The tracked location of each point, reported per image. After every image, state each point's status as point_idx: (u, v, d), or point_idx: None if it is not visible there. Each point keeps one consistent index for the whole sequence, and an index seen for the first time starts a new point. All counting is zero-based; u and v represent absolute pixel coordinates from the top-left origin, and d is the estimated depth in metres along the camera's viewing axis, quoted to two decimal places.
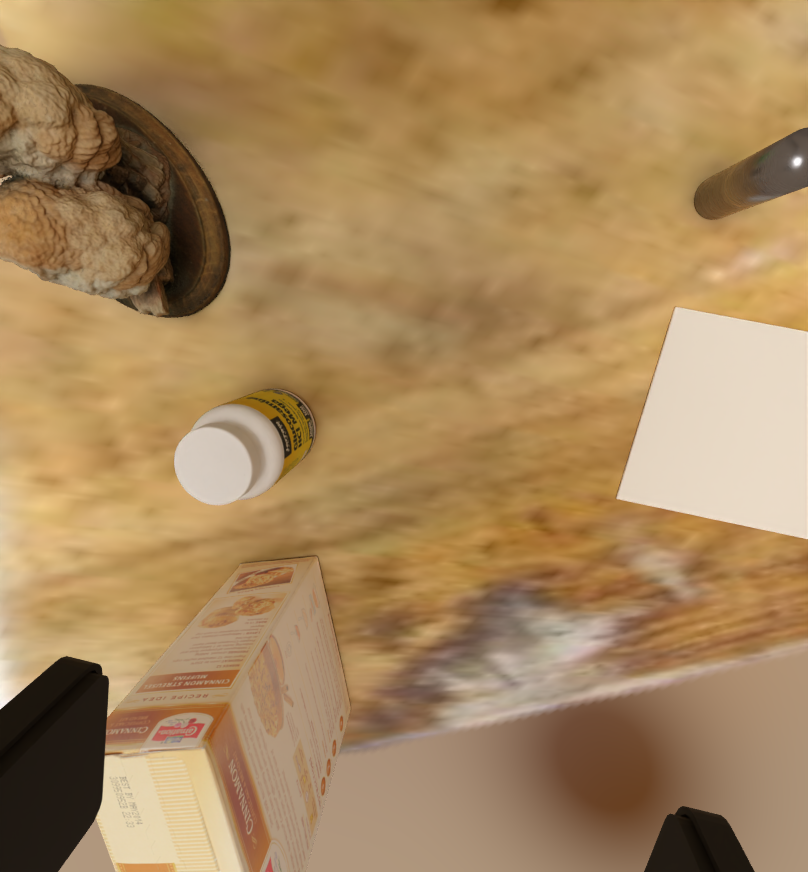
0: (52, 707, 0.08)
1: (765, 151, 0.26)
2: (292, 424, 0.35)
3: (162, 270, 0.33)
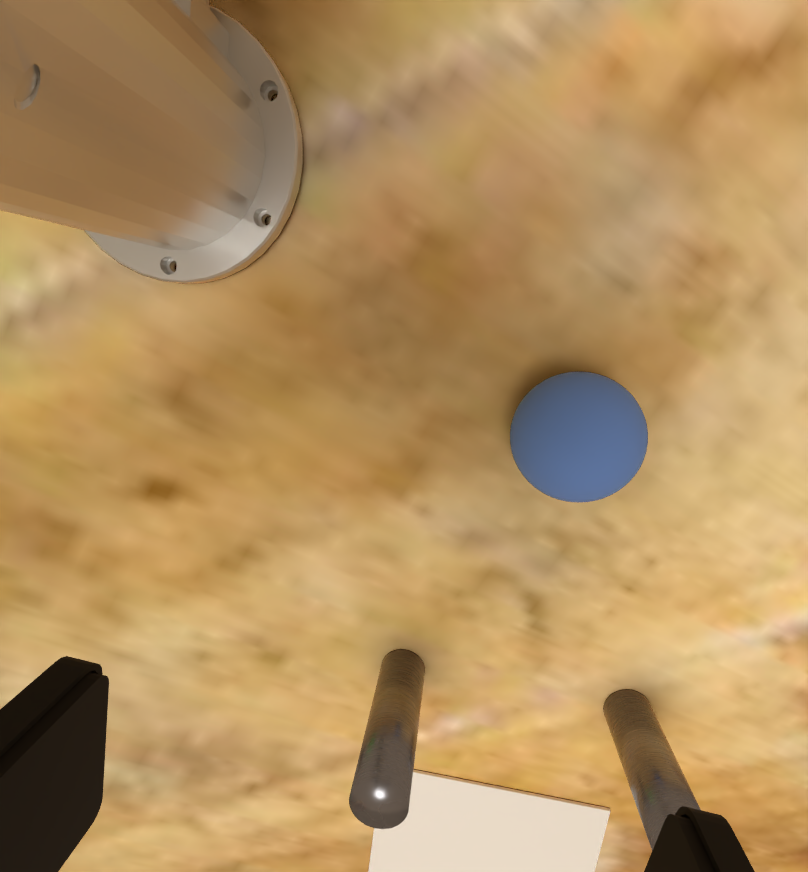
0: (53, 707, 0.08)
1: (359, 760, 0.24)
2: None
3: None
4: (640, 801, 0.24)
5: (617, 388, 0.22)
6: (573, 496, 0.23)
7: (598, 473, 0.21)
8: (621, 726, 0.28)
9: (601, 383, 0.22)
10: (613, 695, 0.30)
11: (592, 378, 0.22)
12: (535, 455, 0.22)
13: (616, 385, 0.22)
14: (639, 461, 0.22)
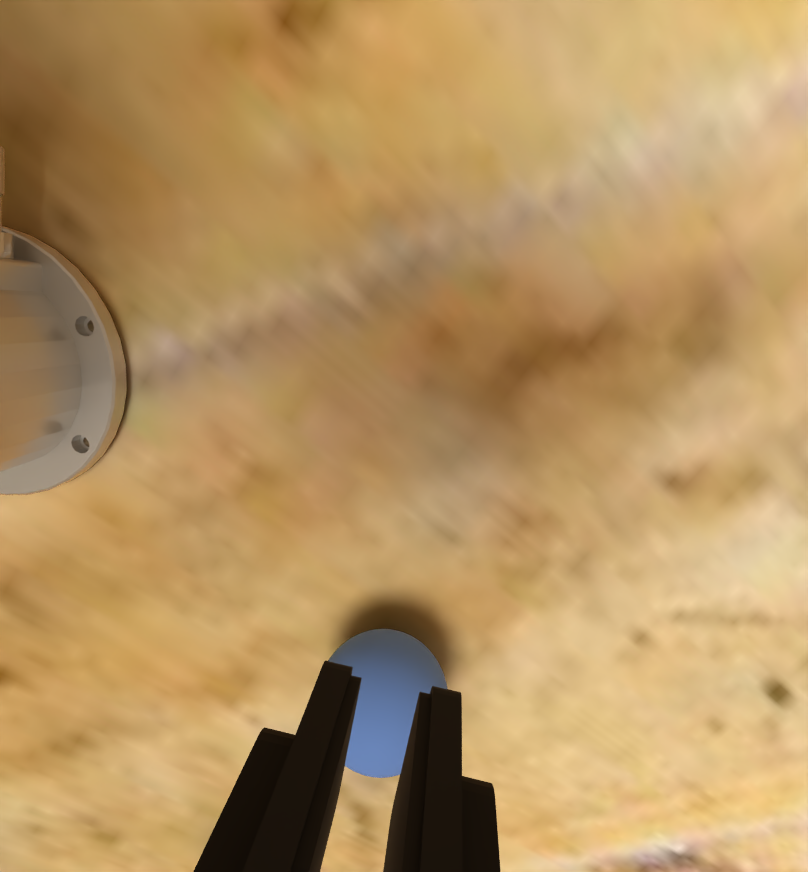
0: (335, 706, 0.09)
1: None
2: None
3: None
4: None
5: (412, 674, 0.22)
6: (365, 774, 0.22)
7: (380, 768, 0.21)
8: None
9: (396, 668, 0.22)
10: None
11: (390, 660, 0.22)
12: None
13: (413, 668, 0.22)
14: None
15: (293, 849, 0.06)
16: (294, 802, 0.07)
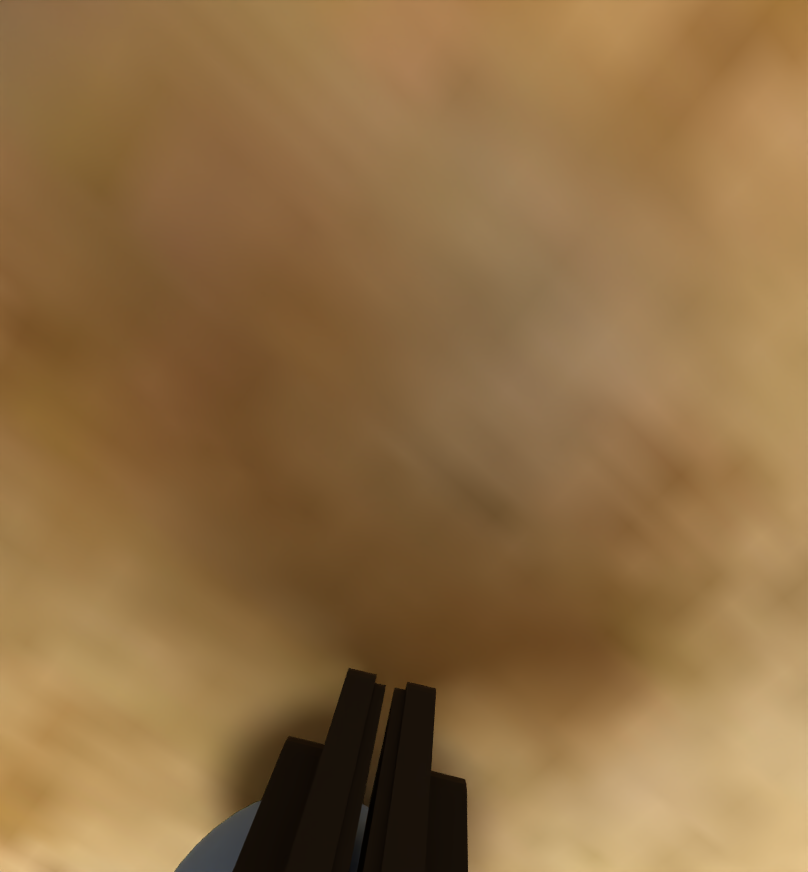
0: (361, 714, 0.08)
1: None
2: None
3: None
4: None
5: None
6: None
7: None
8: None
9: None
10: None
11: None
12: None
13: None
14: None
15: (329, 862, 0.06)
16: (328, 814, 0.07)
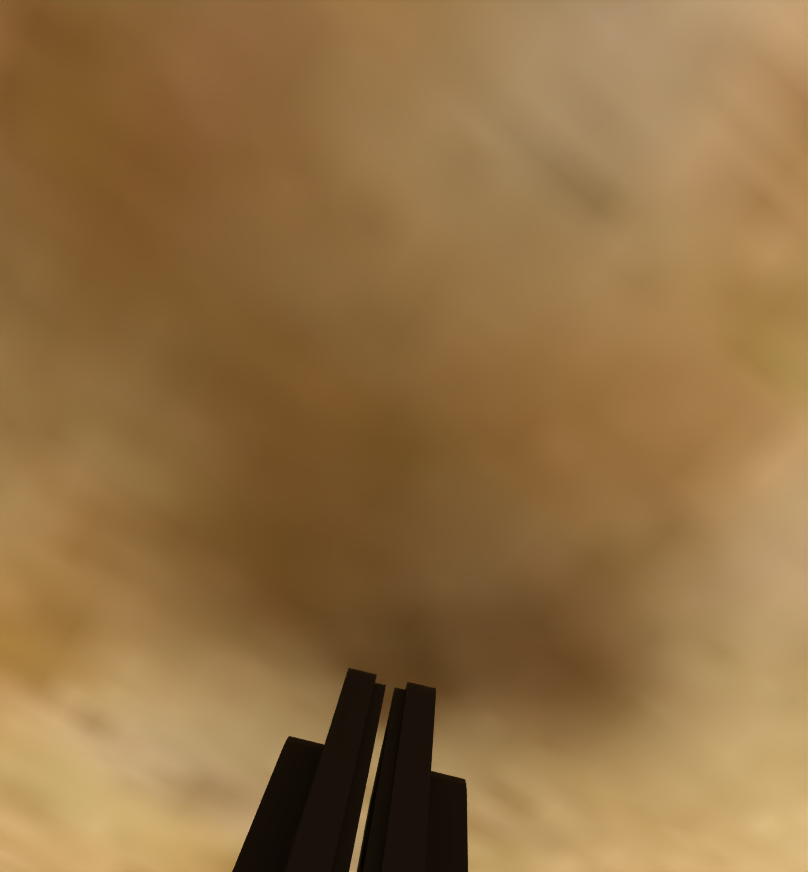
0: (361, 714, 0.08)
1: None
2: None
3: None
4: None
5: None
6: None
7: None
8: None
9: None
10: None
11: None
12: None
13: None
14: None
15: (329, 863, 0.06)
16: (327, 815, 0.07)
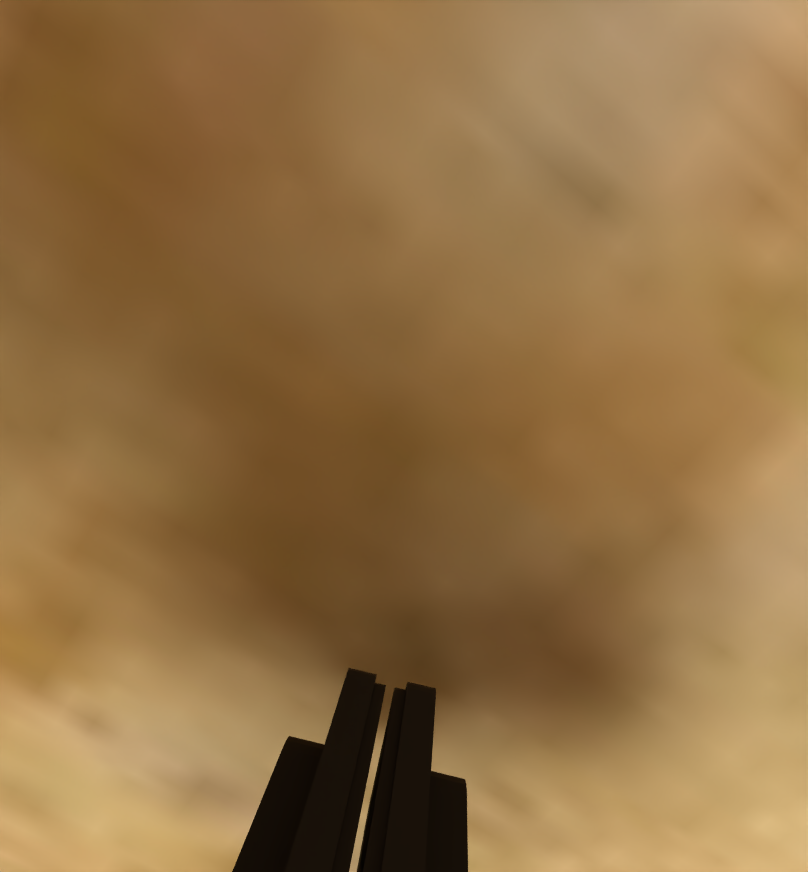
0: (361, 714, 0.08)
1: None
2: None
3: None
4: None
5: None
6: None
7: None
8: None
9: None
10: None
11: None
12: None
13: None
14: None
15: (329, 863, 0.06)
16: (327, 815, 0.07)
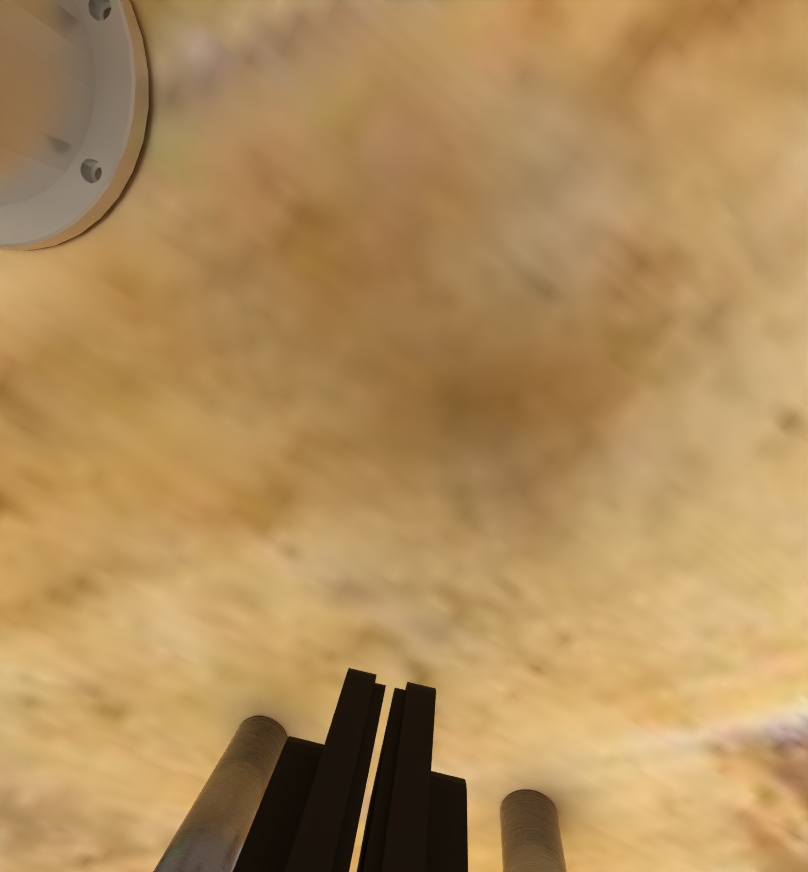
0: (361, 714, 0.09)
1: None
2: None
3: None
4: None
5: None
6: None
7: None
8: (511, 844, 0.22)
9: None
10: (512, 796, 0.24)
11: None
12: None
13: None
14: None
15: (329, 862, 0.06)
16: (327, 813, 0.07)
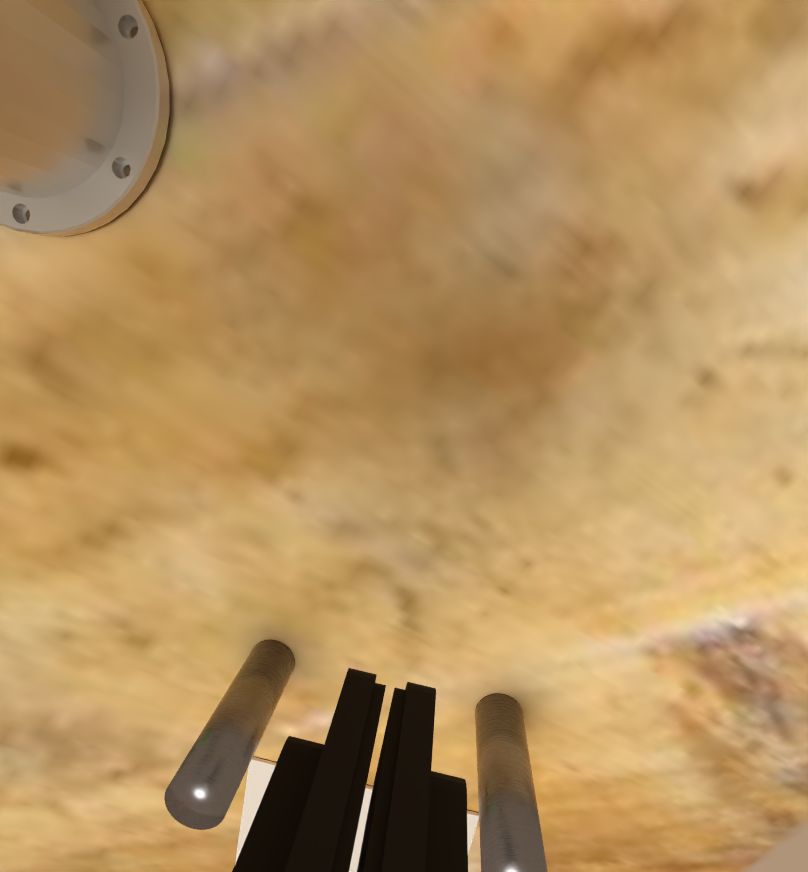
0: (361, 714, 0.09)
1: (187, 755, 0.22)
2: None
3: None
4: (481, 811, 0.23)
5: None
6: None
7: None
8: (483, 732, 0.27)
9: None
10: (485, 699, 0.29)
11: None
12: None
13: None
14: None
15: (329, 863, 0.06)
16: (327, 814, 0.07)
